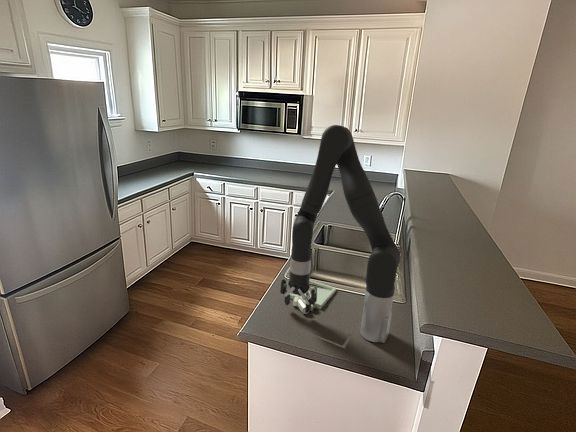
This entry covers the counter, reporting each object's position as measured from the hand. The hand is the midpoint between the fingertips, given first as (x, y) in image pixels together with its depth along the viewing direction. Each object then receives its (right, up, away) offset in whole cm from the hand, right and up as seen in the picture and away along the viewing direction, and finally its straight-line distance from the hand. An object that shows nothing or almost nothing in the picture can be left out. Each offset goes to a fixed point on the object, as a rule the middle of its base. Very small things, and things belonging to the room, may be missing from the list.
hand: (297, 308), depth 128 cm
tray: (+6, +2, +15) cm, 16 cm away
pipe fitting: (+1, -1, 0) cm, 1 cm away
